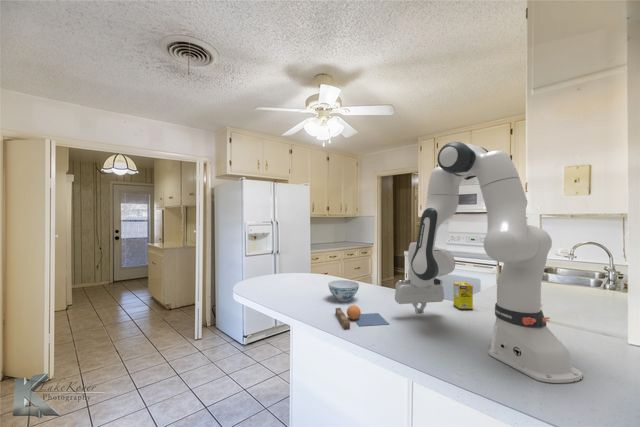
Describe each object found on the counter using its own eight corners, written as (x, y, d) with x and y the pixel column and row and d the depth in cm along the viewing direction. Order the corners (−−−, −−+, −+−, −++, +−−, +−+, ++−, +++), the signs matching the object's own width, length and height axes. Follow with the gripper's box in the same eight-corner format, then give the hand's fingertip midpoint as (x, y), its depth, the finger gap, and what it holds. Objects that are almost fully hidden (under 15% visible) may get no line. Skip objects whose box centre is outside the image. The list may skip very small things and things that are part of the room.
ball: (347, 307, 112) (348, 322, 112) (361, 306, 113) (362, 321, 113) (345, 303, 118) (346, 317, 118) (358, 303, 118) (359, 316, 118)
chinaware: (358, 295, 148) (358, 280, 148) (359, 305, 133) (359, 288, 133) (329, 294, 149) (329, 279, 149) (327, 303, 134) (327, 287, 134)
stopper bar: (349, 329, 105) (349, 322, 105) (344, 329, 105) (344, 322, 105) (340, 313, 121) (340, 307, 121) (335, 314, 121) (335, 308, 121)
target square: (389, 324, 110) (389, 324, 110) (358, 326, 108) (358, 325, 108) (378, 313, 122) (378, 313, 122) (350, 314, 120) (350, 314, 120)
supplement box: (473, 310, 126) (473, 285, 126) (459, 310, 126) (459, 285, 126) (466, 306, 132) (466, 282, 132) (453, 305, 132) (453, 282, 132)
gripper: (398, 282, 113) (398, 317, 113) (446, 280, 116) (446, 314, 116) (392, 278, 119) (392, 312, 119) (437, 276, 123) (437, 309, 123)
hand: (419, 313), depth 118 cm, fingers closed
